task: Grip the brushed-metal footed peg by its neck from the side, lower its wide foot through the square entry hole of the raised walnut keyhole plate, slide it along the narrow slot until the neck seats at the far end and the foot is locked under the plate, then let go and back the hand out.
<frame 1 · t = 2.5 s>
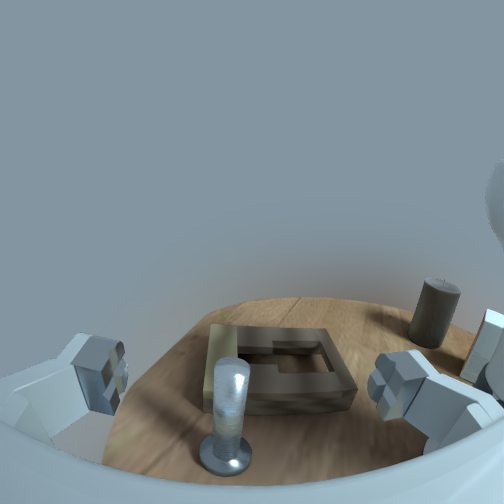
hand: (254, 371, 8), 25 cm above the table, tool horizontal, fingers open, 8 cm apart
keyhole plate: (272, 376, 42), on the table
small box: (472, 373, 40), on the table
pillar candle: (424, 338, 55), on the table
footed peg: (225, 457, 26), on the table
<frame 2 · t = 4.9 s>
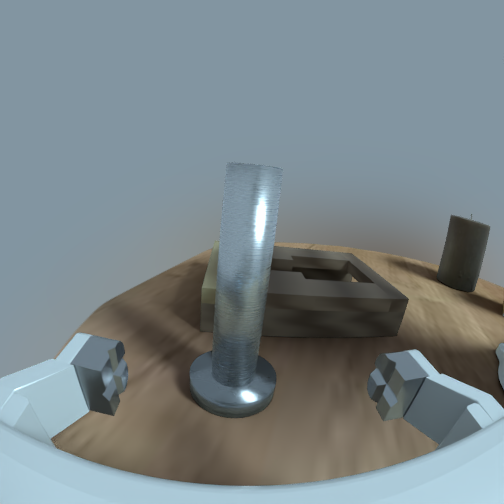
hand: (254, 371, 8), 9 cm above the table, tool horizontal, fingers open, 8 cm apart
keyhole plate: (293, 300, 35), on the table
pillar candle: (455, 284, 47), on the table
footed peg: (231, 387, 19), on the table
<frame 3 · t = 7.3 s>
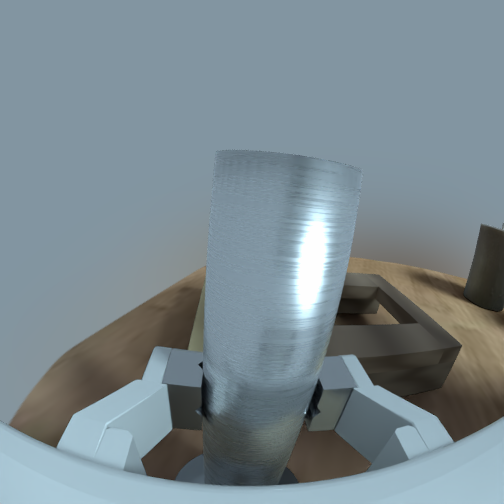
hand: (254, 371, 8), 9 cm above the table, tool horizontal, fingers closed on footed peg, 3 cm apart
keyhole plate: (312, 343, 26), on the table
pillar candle: (483, 301, 39), on the table
footed peg: (235, 503, 10), on the table, touching gripper
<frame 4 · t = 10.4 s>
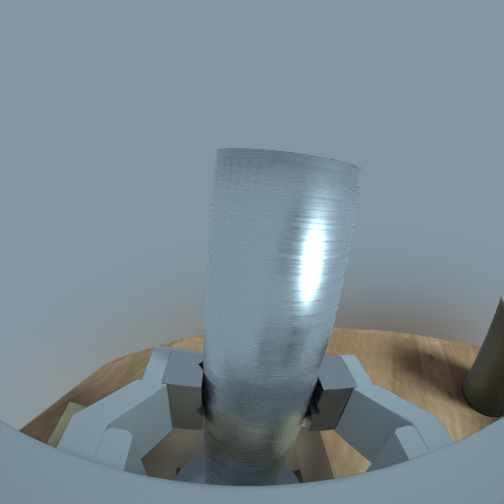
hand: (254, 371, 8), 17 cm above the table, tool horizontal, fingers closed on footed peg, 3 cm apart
pillar candle: (486, 395, 24), on the table
footed peg: (236, 502, 10), point 8 cm above the table, touching gripper
when the fingers open (10 cm above the table, at t = 13.7 s): footed peg stays where it is, on the table.
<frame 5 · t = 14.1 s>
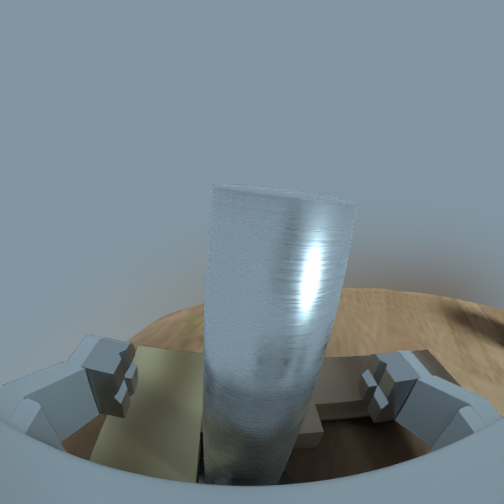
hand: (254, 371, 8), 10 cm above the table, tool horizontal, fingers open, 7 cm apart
keyhole plate: (313, 502, 10), on the table
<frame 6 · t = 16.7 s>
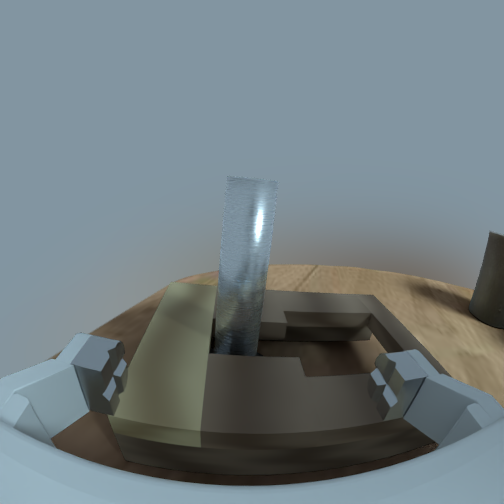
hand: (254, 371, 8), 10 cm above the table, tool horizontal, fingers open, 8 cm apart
keyhole plate: (285, 384, 21), on the table
pillar candle: (489, 317, 33), on the table
footed peg: (232, 382, 20), on the table
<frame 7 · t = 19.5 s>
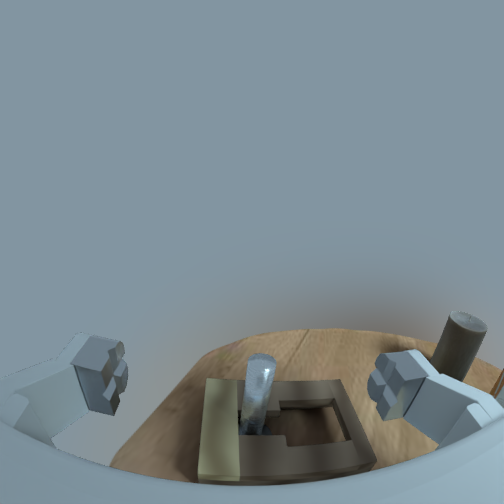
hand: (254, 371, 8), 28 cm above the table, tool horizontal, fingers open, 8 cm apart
keyhole plate: (278, 440, 33), on the table
small box: (492, 416, 31), on the table
pillar candle: (443, 376, 46), on the table
footed peg: (248, 440, 32), on the table
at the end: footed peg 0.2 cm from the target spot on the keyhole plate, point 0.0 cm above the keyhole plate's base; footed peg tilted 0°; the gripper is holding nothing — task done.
